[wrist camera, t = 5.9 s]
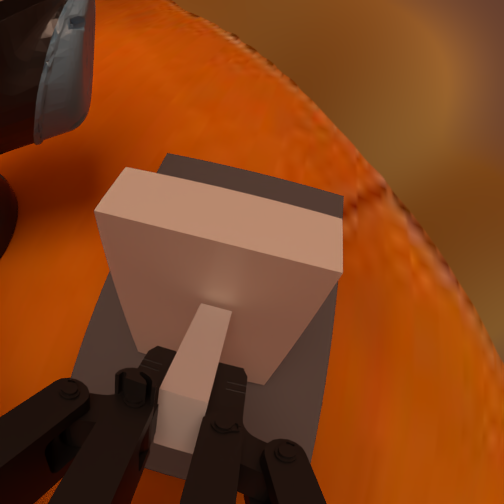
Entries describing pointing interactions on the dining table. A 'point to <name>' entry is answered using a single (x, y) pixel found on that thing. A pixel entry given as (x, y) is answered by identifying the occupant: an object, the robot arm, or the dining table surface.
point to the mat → (257, 396)
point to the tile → (217, 264)
